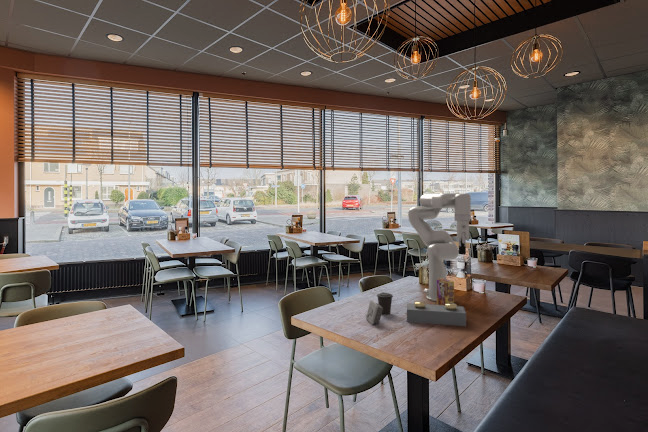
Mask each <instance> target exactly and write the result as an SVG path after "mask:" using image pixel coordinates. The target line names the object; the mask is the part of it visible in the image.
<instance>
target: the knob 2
mask: <svg viewBox="0 0 648 432" xmlns="http://www.w3.org/2000/svg"><path fill="white" fill-rule="evenodd" d="M457 306H458V305H457V303H446V304H445V308H446V309H448V310H456V309H457Z"/></svg>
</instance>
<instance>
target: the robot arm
mask: <svg viewBox="0 0 648 432" xmlns="http://www.w3.org/2000/svg"><path fill="white" fill-rule="evenodd" d="M471 200H472V199H471V194H470V193H459V192H458V193H440V192H428V193H423V194H422V195H420V198H419V204H420V205H417V206H413V207H410V208H409V210H408V213H407V214H408V215H407V217H408V221H409V223H410V225H411V226H412V228H414V230H415V231H416V233H417V234H418V236H419V237H420V240H421V241H422V243H423V244H424V245H425V246H426V247H427V249H426V254H427V261H428V288H424V289H423V293H425V294H426V295H425V298H426V299H427V300H428V301H433V302H437V279H439V278H444V279H447V266H446V264H445V263H444V261H447V260H448V261H449V260H455V259H457V258H458V257H459V255H466V253H467V251H466V250H467V249H466V248H467V246H466V245H467V243H466V242H470V224H469V222H471V209H472V208H471V205H472V204H471ZM450 208H451V209H454V221H455V222H456V237H457V238H456V239H457V240H458V246H457V244H456V242H455V241H454V240H453V238H452V236H451V235H450V234H449V232H447V231H446V230H443V229H442V230H441V229H440V230H439V229H438V230H435V229H433V228H432V226H431V225H430V224H429V223H428V222H426V220H428V221H429V220H435V219H436V218H437V217H438V215H439V214H440V212H441V210H442V209H450Z"/></svg>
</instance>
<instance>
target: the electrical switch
mask: <svg viewBox="0 0 648 432" xmlns="http://www.w3.org/2000/svg"><path fill="white" fill-rule="evenodd" d="M382 311H383V308H382V307H381V306H380V305H379V304H378V303H377V302H375V301H374V300H370V302H369V305H368V308H367V311H366V316H365V320H367V321H368V322H369V324H370V325H372V326H373V325H374V324H375V325H376V324H377V325H379V324H380V322H381V318H382Z"/></svg>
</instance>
